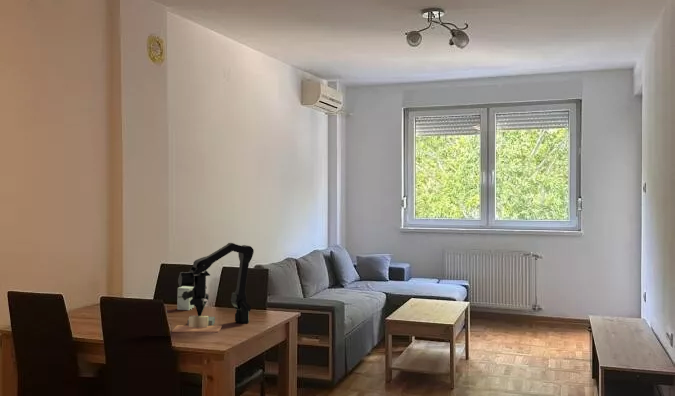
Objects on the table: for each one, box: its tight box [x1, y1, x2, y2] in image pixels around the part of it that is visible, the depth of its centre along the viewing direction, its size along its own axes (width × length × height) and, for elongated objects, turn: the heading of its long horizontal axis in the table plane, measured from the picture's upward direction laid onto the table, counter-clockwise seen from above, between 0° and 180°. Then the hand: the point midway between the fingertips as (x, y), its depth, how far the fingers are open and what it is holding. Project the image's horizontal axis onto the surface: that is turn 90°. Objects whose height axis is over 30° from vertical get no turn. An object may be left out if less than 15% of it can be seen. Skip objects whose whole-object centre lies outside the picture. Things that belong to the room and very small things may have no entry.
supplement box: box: [176, 286, 195, 311], centre depth 350 cm, size 7×7×13 cm
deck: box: [186, 316, 216, 326], centre depth 309 cm, size 12×10×3 cm
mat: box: [171, 324, 223, 333], centre depth 298 cm, size 22×12×1 cm, turn 93°
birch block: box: [188, 315, 209, 327], centre depth 301 cm, size 9×5×3 cm
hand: (199, 316), depth 303 cm, fingers closed
